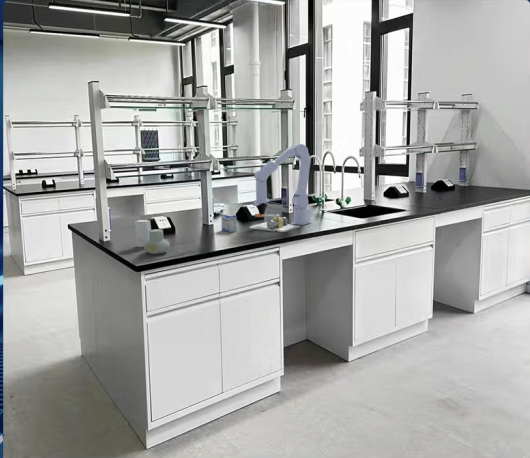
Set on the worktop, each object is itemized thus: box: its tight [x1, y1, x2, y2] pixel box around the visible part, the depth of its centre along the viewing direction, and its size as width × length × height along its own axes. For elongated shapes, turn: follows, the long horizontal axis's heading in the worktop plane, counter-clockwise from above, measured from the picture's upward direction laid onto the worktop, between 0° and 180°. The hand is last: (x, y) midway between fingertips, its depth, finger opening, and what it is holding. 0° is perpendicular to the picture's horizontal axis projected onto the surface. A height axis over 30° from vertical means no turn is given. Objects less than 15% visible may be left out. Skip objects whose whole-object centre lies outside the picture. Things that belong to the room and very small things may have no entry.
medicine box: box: [220, 213, 238, 233], centre depth 254 cm, size 8×4×9 cm, turn 40°
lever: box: [254, 213, 281, 218], centre depth 261 cm, size 14×3×1 cm, turn 71°
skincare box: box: [134, 219, 152, 248], centre depth 222 cm, size 6×4×12 cm
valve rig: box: [249, 216, 301, 233], centre depth 260 cm, size 16×22×6 cm
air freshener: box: [143, 228, 171, 255], centre depth 210 cm, size 11×8×10 cm
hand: (261, 217), depth 264 cm, fingers closed
